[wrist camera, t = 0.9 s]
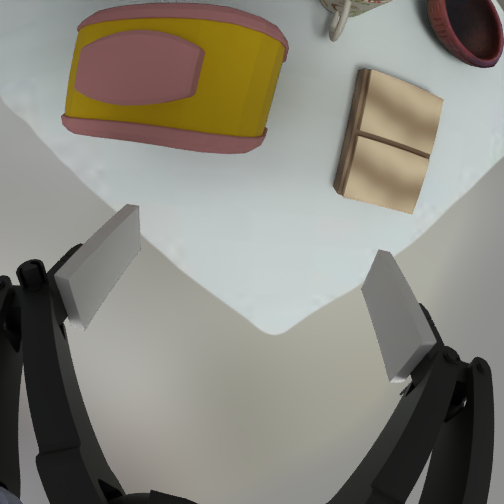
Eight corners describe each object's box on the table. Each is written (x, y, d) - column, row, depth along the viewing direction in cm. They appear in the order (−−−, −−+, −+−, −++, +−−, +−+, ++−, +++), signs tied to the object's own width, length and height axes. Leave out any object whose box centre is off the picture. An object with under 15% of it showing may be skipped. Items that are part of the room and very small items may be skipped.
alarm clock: (131, 113, 32) (26, 140, 15) (146, 38, 26) (47, 10, 10) (265, 137, 33) (254, 175, 16) (287, 56, 27) (300, 4, 11)
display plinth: (358, 70, 27) (367, 67, 24) (431, 99, 27) (446, 100, 24) (333, 186, 35) (339, 196, 32) (403, 204, 35) (415, 215, 32)
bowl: (491, 36, 19) (523, 33, 12) (464, 83, 25) (499, 86, 18) (414, -38, 16) (438, -56, 9) (379, 4, 22) (403, -14, 15)
